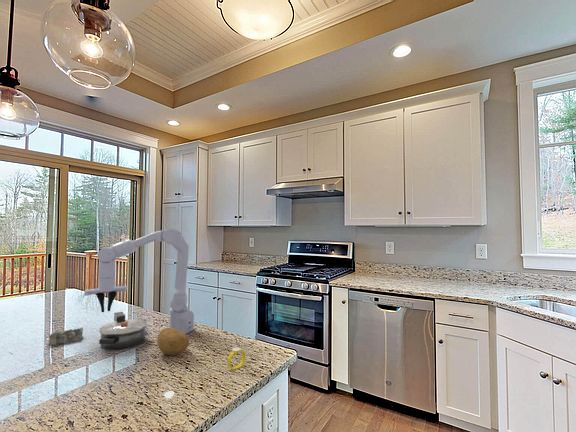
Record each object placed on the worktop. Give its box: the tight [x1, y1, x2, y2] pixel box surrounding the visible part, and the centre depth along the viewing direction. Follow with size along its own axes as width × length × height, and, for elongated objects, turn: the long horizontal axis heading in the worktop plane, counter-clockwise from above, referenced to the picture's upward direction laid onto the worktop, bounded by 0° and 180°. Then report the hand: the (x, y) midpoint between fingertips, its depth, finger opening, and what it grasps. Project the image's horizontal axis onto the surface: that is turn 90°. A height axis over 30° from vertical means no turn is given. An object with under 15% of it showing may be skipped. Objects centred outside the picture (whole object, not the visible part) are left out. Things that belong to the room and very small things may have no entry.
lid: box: [99, 311, 148, 336], centre depth 116 cm, size 22×16×3 cm
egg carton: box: [48, 327, 84, 346], centre depth 115 cm, size 11×8×4 cm
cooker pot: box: [98, 319, 147, 351], centre depth 115 cm, size 24×15×5 cm, turn 178°
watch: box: [227, 346, 246, 371], centre depth 93 cm, size 6×3×6 cm, turn 136°
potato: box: [156, 327, 190, 356], centre depth 104 cm, size 10×14×8 cm
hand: (105, 311), depth 119 cm, fingers closed
